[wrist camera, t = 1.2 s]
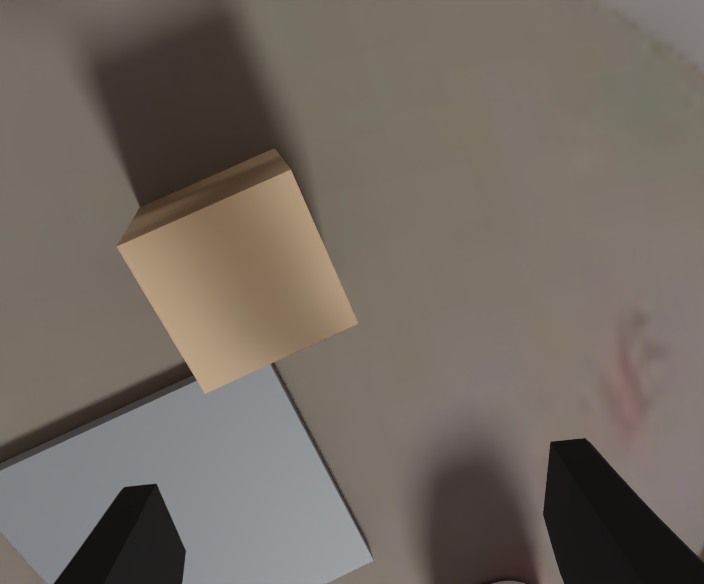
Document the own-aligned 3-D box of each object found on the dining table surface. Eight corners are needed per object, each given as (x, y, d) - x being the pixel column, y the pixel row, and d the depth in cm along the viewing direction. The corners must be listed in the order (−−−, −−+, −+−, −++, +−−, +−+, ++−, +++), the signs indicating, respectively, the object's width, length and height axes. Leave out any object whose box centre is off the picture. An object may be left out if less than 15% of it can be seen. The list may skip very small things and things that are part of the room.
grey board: (132, 664, 27) (130, 677, 26) (-33, 477, 22) (-39, 488, 21) (370, 550, 27) (373, 560, 27) (261, 343, 22) (262, 350, 22)
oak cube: (208, 326, 22) (204, 393, 17) (140, 206, 20) (116, 246, 15) (329, 271, 22) (357, 323, 18) (274, 147, 20) (290, 169, 16)
